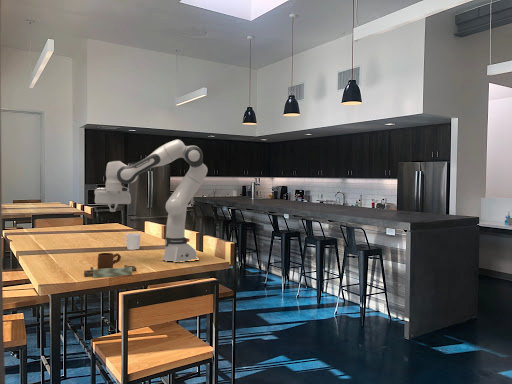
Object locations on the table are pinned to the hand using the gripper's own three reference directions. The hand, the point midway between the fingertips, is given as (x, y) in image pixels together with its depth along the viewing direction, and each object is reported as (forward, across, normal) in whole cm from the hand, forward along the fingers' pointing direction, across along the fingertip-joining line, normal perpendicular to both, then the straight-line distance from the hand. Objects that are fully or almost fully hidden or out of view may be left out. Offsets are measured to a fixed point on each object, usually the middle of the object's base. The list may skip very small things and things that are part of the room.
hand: (112, 211), depth 242 cm
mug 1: (+29, -4, -28) cm, 41 cm away
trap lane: (+29, -4, -31) cm, 43 cm away
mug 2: (+29, +18, +36) cm, 50 cm away
